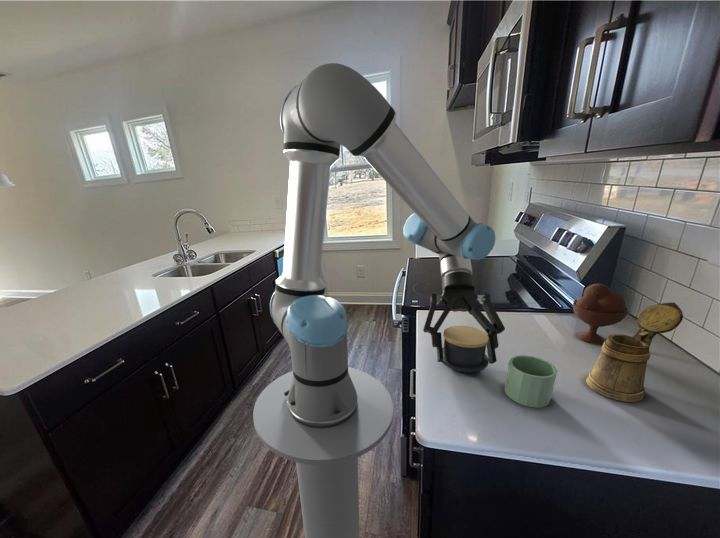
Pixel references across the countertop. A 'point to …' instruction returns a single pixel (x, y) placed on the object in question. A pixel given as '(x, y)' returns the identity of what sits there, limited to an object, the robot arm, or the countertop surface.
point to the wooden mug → (631, 355)
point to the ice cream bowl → (598, 310)
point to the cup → (530, 381)
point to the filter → (465, 349)
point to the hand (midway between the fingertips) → (466, 361)
